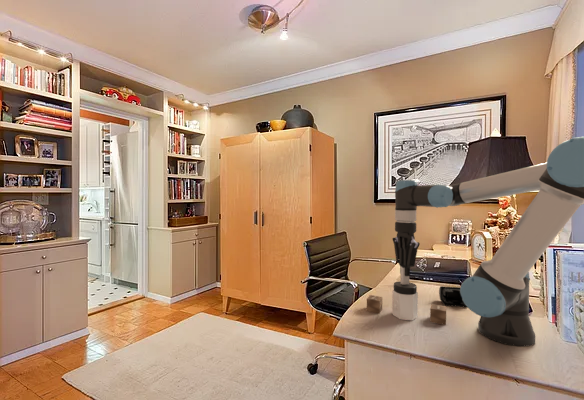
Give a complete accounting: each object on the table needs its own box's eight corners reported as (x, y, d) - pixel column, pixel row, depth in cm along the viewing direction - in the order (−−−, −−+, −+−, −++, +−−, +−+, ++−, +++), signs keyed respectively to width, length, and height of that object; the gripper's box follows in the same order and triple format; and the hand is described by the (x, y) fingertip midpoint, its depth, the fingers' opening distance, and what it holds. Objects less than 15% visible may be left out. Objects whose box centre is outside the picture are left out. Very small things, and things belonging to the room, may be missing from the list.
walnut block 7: (382, 309, 118) (382, 296, 118) (379, 313, 114) (379, 300, 114) (369, 307, 121) (369, 294, 120) (366, 311, 116) (366, 298, 116)
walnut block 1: (446, 319, 108) (446, 305, 108) (445, 325, 104) (446, 310, 104) (431, 317, 111) (431, 303, 111) (430, 322, 107) (430, 308, 106)
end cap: (464, 301, 127) (464, 285, 127) (470, 307, 120) (470, 291, 120) (438, 299, 129) (439, 284, 129) (443, 305, 122) (443, 289, 122)
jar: (388, 312, 115) (388, 282, 115) (405, 310, 117) (406, 280, 117) (403, 322, 106) (403, 289, 106) (422, 319, 109) (422, 287, 108)
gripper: (426, 223, 106) (425, 288, 106) (403, 219, 118) (402, 278, 119) (408, 223, 104) (407, 290, 104) (386, 220, 116) (386, 279, 117)
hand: (404, 283), depth 112 cm, fingers closed
